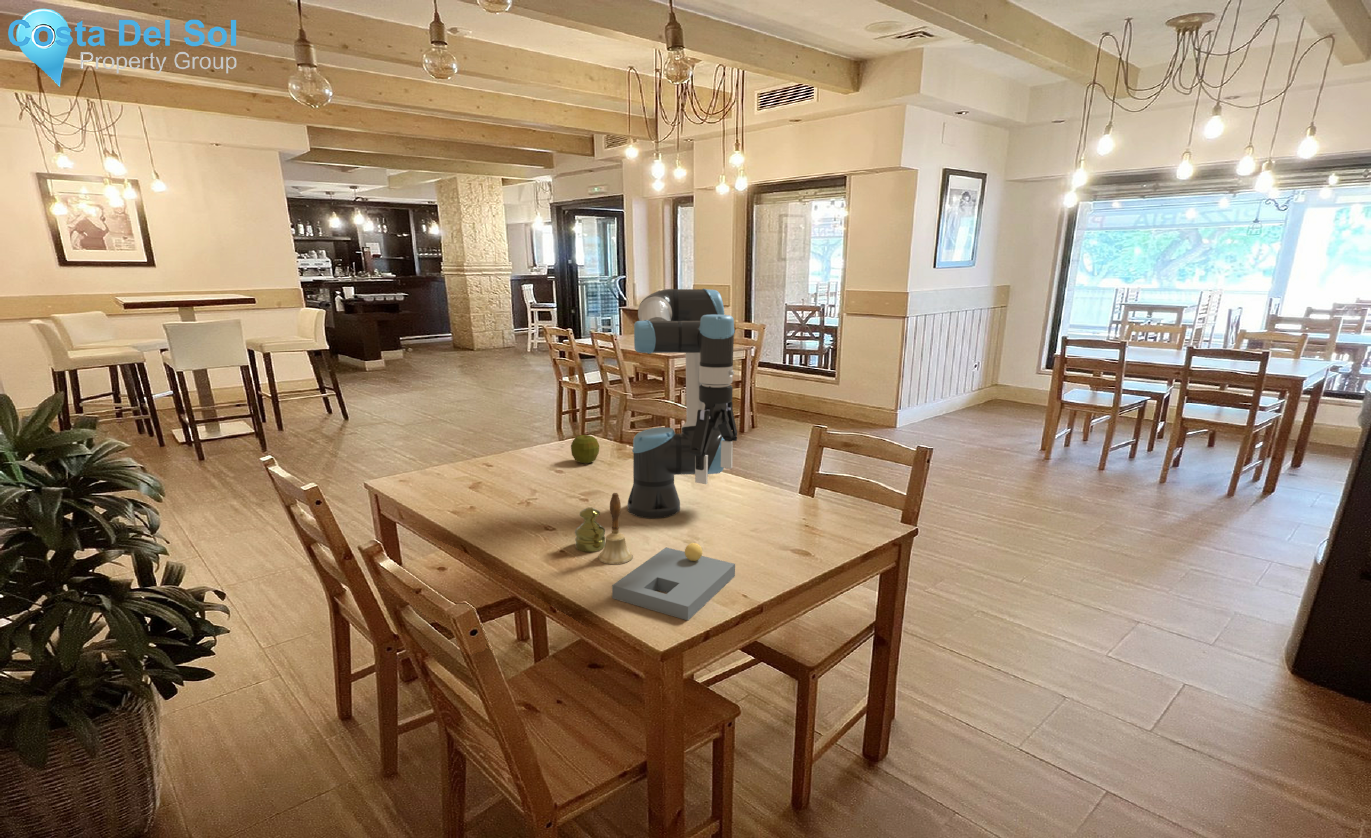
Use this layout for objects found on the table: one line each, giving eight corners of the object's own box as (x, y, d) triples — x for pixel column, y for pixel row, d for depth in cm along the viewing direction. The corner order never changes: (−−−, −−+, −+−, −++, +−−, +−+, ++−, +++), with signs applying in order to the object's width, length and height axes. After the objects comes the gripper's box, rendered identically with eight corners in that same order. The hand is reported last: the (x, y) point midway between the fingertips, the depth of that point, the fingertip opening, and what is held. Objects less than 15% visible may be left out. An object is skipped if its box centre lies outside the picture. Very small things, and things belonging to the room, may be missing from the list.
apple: (567, 465, 228) (566, 435, 226) (576, 458, 237) (575, 428, 235) (594, 467, 226) (594, 436, 224) (602, 459, 236) (602, 430, 233)
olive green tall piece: (592, 555, 156) (591, 516, 154) (569, 548, 160) (567, 509, 157) (611, 544, 162) (610, 506, 160) (588, 538, 166) (587, 501, 163)
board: (612, 598, 135) (612, 585, 134) (666, 559, 154) (666, 547, 153) (688, 620, 127) (688, 606, 126) (734, 576, 145) (735, 563, 145)
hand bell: (599, 550, 158) (597, 488, 155) (633, 549, 159) (632, 487, 156) (597, 565, 150) (595, 500, 147) (633, 564, 151) (632, 499, 148)
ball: (681, 561, 146) (681, 545, 145) (689, 555, 149) (690, 538, 148) (697, 565, 144) (697, 548, 143) (705, 558, 147) (705, 542, 146)
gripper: (706, 394, 133) (705, 492, 137) (752, 378, 154) (749, 463, 159) (674, 391, 136) (674, 487, 141) (723, 375, 158) (722, 459, 162)
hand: (714, 475), depth 150 cm, fingers open, 13 cm apart
